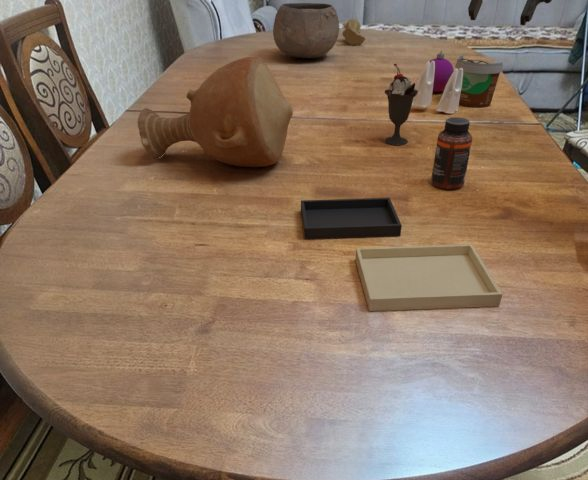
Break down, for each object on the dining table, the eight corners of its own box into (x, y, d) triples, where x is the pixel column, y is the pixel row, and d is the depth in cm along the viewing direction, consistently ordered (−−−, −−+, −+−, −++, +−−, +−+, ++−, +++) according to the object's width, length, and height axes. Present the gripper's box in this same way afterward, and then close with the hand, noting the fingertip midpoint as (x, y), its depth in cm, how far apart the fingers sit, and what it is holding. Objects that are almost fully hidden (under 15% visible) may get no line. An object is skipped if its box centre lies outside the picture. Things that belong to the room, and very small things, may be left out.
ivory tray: (469, 255, 81) (472, 243, 80) (499, 306, 71) (502, 294, 70) (355, 259, 80) (356, 247, 79) (369, 311, 70) (370, 299, 69)
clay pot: (269, 52, 184) (267, 0, 175) (329, 49, 187) (331, -3, 178) (279, 67, 169) (278, 11, 159) (345, 64, 171) (347, 8, 162)
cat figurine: (345, 27, 186) (343, 10, 192) (338, 47, 191) (336, 30, 198) (367, 34, 188) (365, 17, 194) (360, 54, 193) (357, 37, 200)
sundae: (378, 136, 120) (385, 60, 111) (409, 136, 120) (418, 60, 111) (381, 146, 115) (388, 69, 106) (413, 146, 115) (423, 68, 106)
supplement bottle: (470, 184, 100) (483, 120, 93) (451, 193, 97) (463, 128, 90) (442, 175, 104) (453, 112, 96) (424, 184, 100) (433, 120, 93)
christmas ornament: (422, 86, 151) (427, 45, 144) (452, 88, 149) (459, 47, 142) (417, 94, 145) (422, 52, 138) (448, 96, 143) (455, 54, 136)
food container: (439, 101, 140) (446, 58, 133) (454, 96, 143) (461, 54, 136) (480, 112, 133) (489, 67, 126) (495, 107, 136) (504, 62, 129)
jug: (278, 126, 90) (112, 140, 96) (300, 186, 108) (159, 194, 114) (285, 25, 94) (126, 44, 101) (305, 99, 112) (169, 111, 119)
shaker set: (407, 112, 133) (413, 62, 126) (408, 107, 136) (414, 58, 129) (457, 115, 131) (466, 64, 124) (457, 110, 134) (466, 60, 127)
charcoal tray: (388, 208, 93) (389, 197, 92) (400, 236, 85) (401, 225, 84) (300, 210, 93) (300, 200, 91) (304, 239, 85) (304, 228, 84)
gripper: (490, -90, 91) (453, -1, 92) (580, -90, 85) (540, 6, 86) (492, -53, 98) (458, 30, 98) (576, -50, 92) (539, 39, 92)
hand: (496, 19), depth 92 cm, fingers open, 8 cm apart
